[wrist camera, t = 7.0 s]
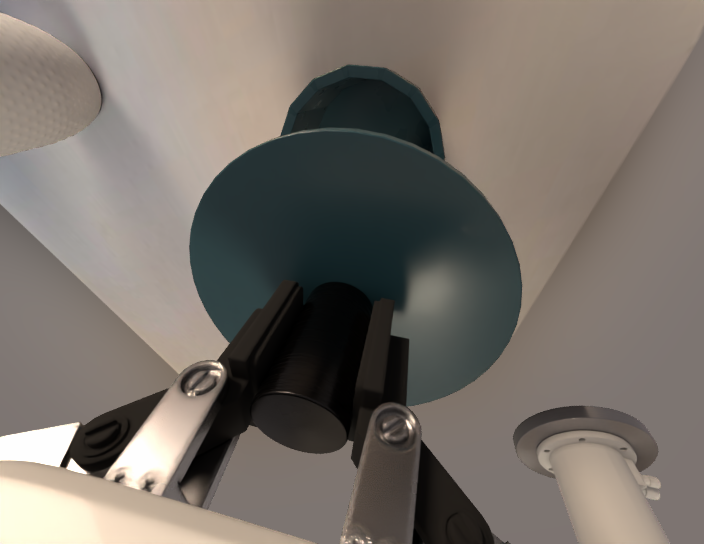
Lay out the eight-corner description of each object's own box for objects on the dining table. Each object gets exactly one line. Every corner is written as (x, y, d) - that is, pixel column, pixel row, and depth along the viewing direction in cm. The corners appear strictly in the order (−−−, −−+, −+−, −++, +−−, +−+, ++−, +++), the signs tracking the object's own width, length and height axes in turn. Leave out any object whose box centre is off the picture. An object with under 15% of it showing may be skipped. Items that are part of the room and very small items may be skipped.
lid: (586, 152, 8) (842, 252, 3) (457, 411, 16) (474, 567, 11) (172, 104, 10) (-86, 122, 5) (230, 359, 17) (151, 472, 12)
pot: (453, 77, 25) (465, 74, 18) (422, 213, 32) (422, 250, 25) (313, 65, 26) (274, 57, 19) (312, 197, 33) (284, 228, 26)
